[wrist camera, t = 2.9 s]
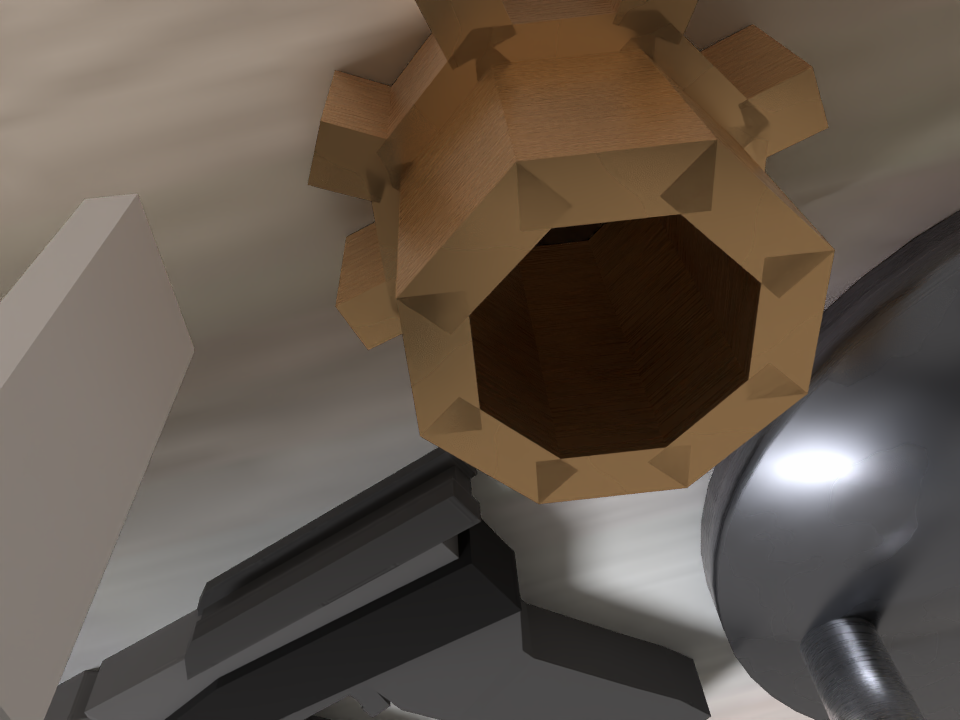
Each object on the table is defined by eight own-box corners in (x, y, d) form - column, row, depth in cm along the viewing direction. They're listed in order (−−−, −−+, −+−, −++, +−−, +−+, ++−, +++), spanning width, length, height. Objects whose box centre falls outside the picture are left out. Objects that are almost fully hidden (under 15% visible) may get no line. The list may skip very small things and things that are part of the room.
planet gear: (371, 357, 17) (353, 590, 12) (286, -54, 12) (201, 52, 7) (740, 317, 17) (871, 533, 12) (790, -109, 12) (1034, -39, 7)
